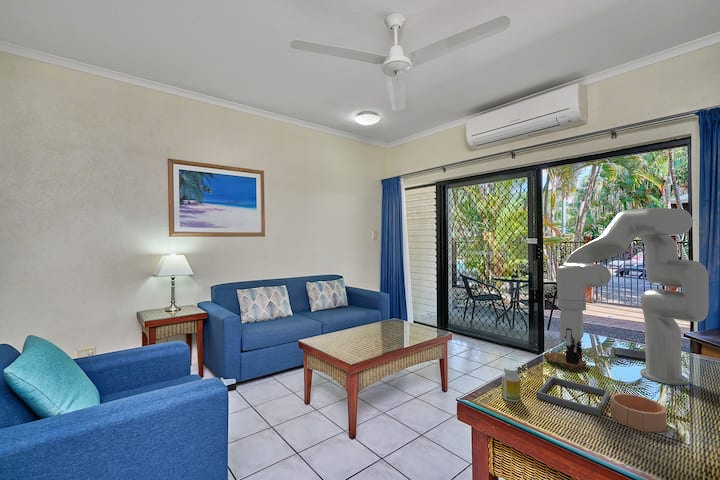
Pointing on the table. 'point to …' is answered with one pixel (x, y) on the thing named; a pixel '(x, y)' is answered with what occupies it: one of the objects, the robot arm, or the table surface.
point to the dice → (579, 357)
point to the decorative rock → (564, 361)
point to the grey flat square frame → (572, 404)
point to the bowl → (638, 412)
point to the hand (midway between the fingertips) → (574, 360)
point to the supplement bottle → (511, 384)
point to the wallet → (628, 354)
